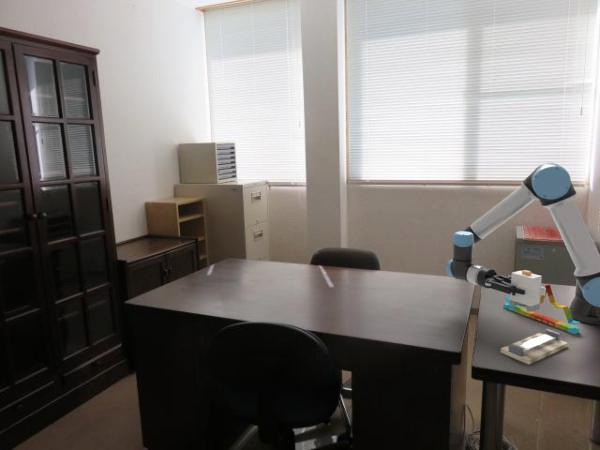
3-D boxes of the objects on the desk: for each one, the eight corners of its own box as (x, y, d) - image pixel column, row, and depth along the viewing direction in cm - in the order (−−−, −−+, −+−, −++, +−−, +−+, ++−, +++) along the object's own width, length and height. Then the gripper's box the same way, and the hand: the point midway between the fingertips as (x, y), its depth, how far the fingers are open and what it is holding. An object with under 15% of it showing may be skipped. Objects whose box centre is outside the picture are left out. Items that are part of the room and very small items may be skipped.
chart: (503, 308, 191) (505, 274, 188) (508, 307, 192) (510, 273, 189) (573, 335, 164) (577, 295, 161) (579, 333, 165) (582, 294, 162)
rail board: (539, 336, 163) (539, 332, 162) (567, 346, 154) (567, 342, 154) (500, 352, 151) (500, 348, 151) (528, 364, 143) (529, 360, 143)
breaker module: (518, 302, 165) (520, 267, 163) (539, 309, 158) (542, 272, 156) (509, 305, 163) (511, 269, 160) (530, 311, 156) (533, 275, 153)
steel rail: (547, 335, 160) (547, 329, 159) (559, 339, 156) (560, 333, 156) (508, 351, 149) (508, 344, 148) (520, 356, 145) (521, 349, 145)
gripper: (497, 281, 180) (554, 298, 160) (465, 290, 171) (522, 309, 151) (498, 263, 178) (556, 278, 158) (466, 271, 169) (524, 287, 150)
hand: (539, 293), depth 155 cm, fingers closed on breaker module, 5 cm apart
